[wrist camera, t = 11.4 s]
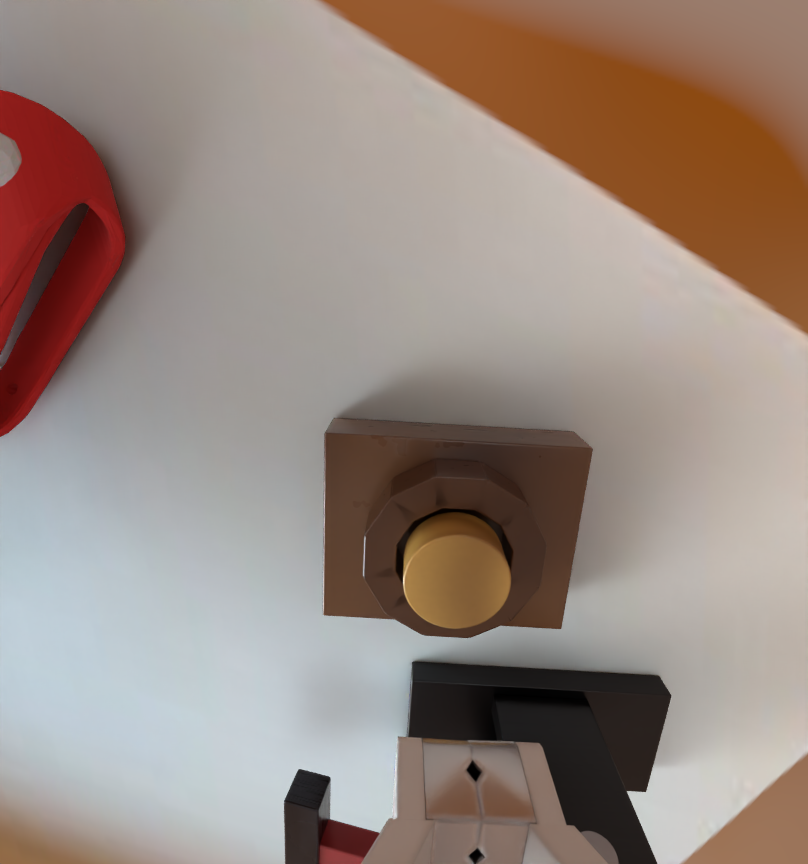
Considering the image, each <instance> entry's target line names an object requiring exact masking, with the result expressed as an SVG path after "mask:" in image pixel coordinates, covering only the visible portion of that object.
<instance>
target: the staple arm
mask: <svg viewBox="0 0 808 864" xmlns="http://www.w3.org/2000/svg"><path fill="white" fill-rule="evenodd" d="M284 822H285V864H361V863H362V861H363V860H364V858H365V856H366V855H367V853H368V851H369V850H370V848H371V847H372V845H373V843H374V842H375V840H376V838H377V837H378V835H379V834H380V833H378V832H374V831H371V830H367V829H363V828H360V827H356V826H352V825H349V824H345V823H341V822H338V821H334V820H330V777H329V776H325V775H321V774H317V773H313V772H309V771H305V770H301V769H299V770H298V771H297V774H296V776H295V778H294V780H293V783H292V785H291V787H290V789H289V792H288V794H287V796H286V798H285V801H284Z"/></svg>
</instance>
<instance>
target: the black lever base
mask: <svg viewBox="0 0 808 864" xmlns="http://www.w3.org/2000/svg"><path fill="white" fill-rule="evenodd" d="M670 700H671V694H670V692H669V691H668V689H667V688H666V686H665V684H664V683H663V681H662V680H661V678H660V677H659V676H648V675H630V674H613V673H596V672H579V671H561V670H544V669H527V668H510V667H493V666H475V665H458V664H441V663H424V662H413V663H412V673H411V687H410V700H409V714H408V727H407V737H413V738H421V739H422V738H432V739H446V740H460V741H468V740H479V741H513V742H514V743H515V742H528V743H539V744H540V745H541V746H542V748H543V751H544V754H545V757H546V760H547V764H548V767H549V770H550V773H551V777H552V780H553V783H554V786H555V790H556V793H557V796H558V799H559V803H560V806H561V809H562V812H563V816H564V819H565V822H566V825H571V826H575V827H576V829H577V830H578V831H579V832H580V833H581V834H582V835H583V836H584V837H585V839H586V840H587V841H588V842H589V843H590V844H591V845H592V846H593V847H594V849H595V850H596V851H597V852H598V853H599V854H600V855H601V856H602V857H603V859H604V860H605V861H606V862H607V863H608V864H657V862H656V859H655V857H654V855H653V852H652V850H651V848H650V845H649V843H648V840H647V838H646V836H645V833H644V831H643V829H642V826H641V824H640V822H639V819H638V817H637V815H636V812H635V810H634V808H633V805H632V803H631V801H630V798H629V796H628V794H627V791H637V792H646V790H647V786H648V783H649V779H650V775H651V771H652V767H653V764H654V760H655V756H656V752H657V749H658V745H659V741H660V737H661V734H662V730H663V726H664V722H665V719H666V715H667V711H668V707H669V704H670Z"/></svg>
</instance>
